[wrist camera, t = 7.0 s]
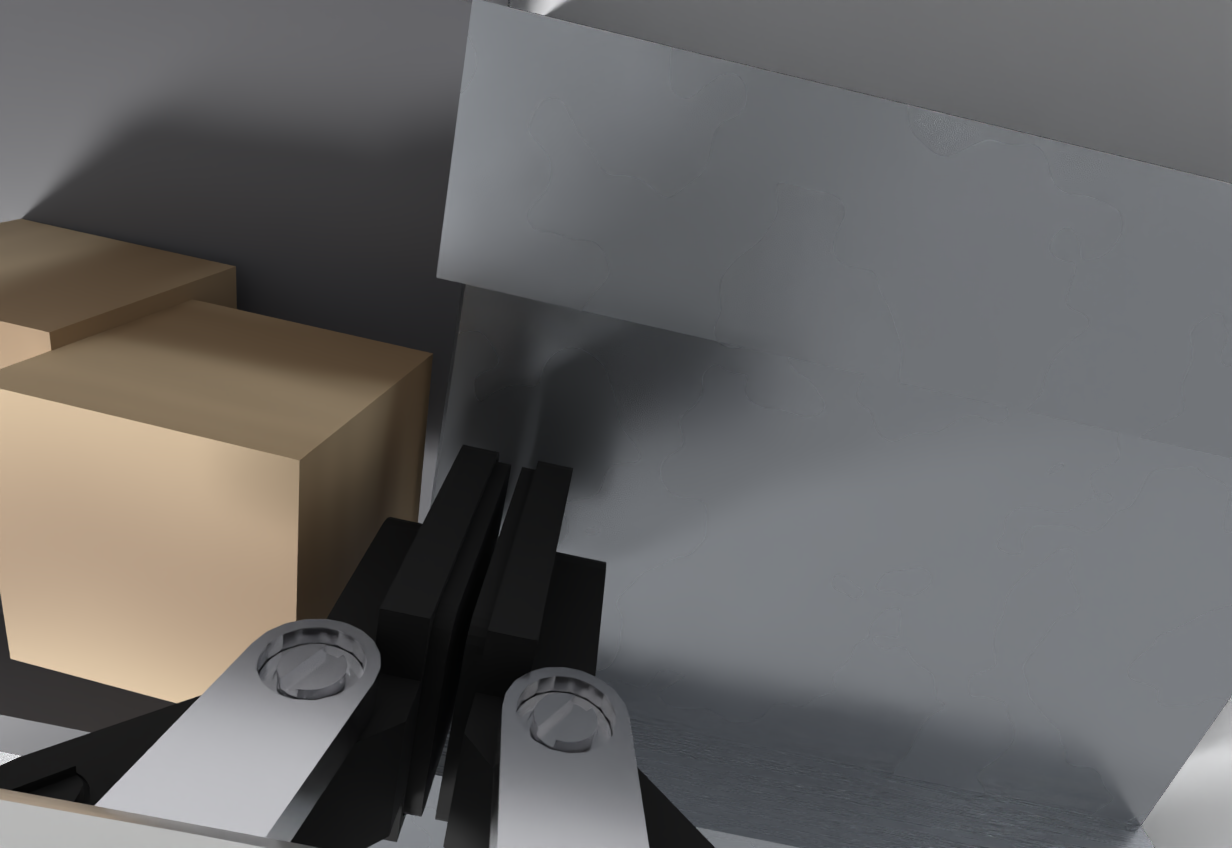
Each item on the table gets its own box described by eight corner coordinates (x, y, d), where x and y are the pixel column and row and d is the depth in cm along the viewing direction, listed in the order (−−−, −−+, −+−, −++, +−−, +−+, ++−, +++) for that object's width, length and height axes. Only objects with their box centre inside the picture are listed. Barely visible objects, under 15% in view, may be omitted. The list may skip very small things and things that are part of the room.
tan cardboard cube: (235, 266, 14) (21, 218, 14) (49, 332, 10) (-234, 266, 11) (240, 471, 15) (46, 425, 16) (79, 591, 12) (-167, 527, 12)
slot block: (538, 19, 13) (472, -3, 8) (1359, 219, 14) (1713, 301, 9) (430, 684, 19) (357, 886, 14) (1011, 803, 19) (1121, 1033, 15)
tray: (-423, -293, 12) (-746, -397, 9) (517, -59, 13) (478, -92, 10) (-207, 589, 18) (-357, 681, 16) (404, 712, 19) (361, 822, 16)
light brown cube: (192, 298, 13) (-33, 380, 9) (432, 353, 13) (299, 460, 9) (199, 515, 14) (10, 658, 11) (413, 569, 14) (293, 734, 10)
